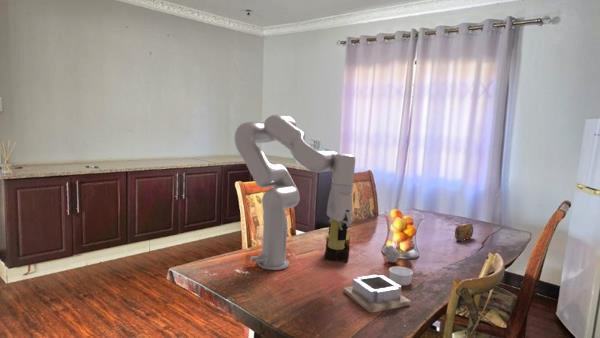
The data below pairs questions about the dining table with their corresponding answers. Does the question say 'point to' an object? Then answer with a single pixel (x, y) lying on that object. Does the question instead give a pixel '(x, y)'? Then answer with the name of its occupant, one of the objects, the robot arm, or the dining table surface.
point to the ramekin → (401, 275)
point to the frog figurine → (391, 253)
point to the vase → (335, 236)
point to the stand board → (373, 306)
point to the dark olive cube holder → (338, 251)
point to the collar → (384, 294)
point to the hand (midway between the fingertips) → (337, 236)
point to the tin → (463, 231)
